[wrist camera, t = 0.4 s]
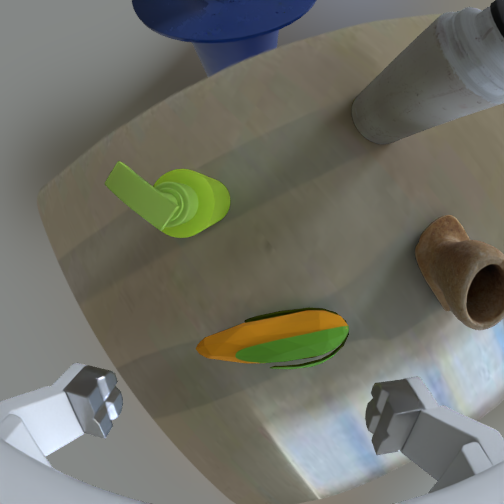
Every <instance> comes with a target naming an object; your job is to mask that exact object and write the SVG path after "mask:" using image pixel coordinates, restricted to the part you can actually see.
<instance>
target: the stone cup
mask: <svg viewBox="0 0 504 504" xmlns="http://www.w3.org/2000/svg"><path fill="white" fill-rule="evenodd" d="M415 256H416V260H417V263H418V266H419V268H420V270H421V272H422V275H423V276H424V278H425V280H426V282H427V283H428V285H429V286H430V288H431V289H432V291H433V293H434V294H435V296H436V297H437V299H438V300H439V302H440V303H441V305H442V307H443V308H444V310H445V311H452V313H453V314H454V315H455V316H456V317H457V318H458V319H459V320H460V321H461V322H462V323H463V324H464V325H466V326H467V327H470V328H472V329H475V330H484V329H488V328H491V327H493V326H495V325H496V324H497V323H499V322H500V321H501V320H502V319H503V318H504V254H503V253H502V252H500V251H499V250H498V249H496V248H495V247H493V246H491V245H489V244H486V243H484V242H481V241H476V240H470V239H469V237H468V235H467V234H466V232H465V230H464V228H463V227H462V225H461V224H460V222H459V221H458V220H457V219H456V218H455V217H454V216H452V215H445V216H442V217H440V218H438V219H436V220H435V221H434V222H432V223H431V224H430V225H429V226H428V227H427V228H426V230H425V231H424V232H423V233H422V234H421V236H420V239H419V243H418V244H417V245H416V248H415Z"/></svg>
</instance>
